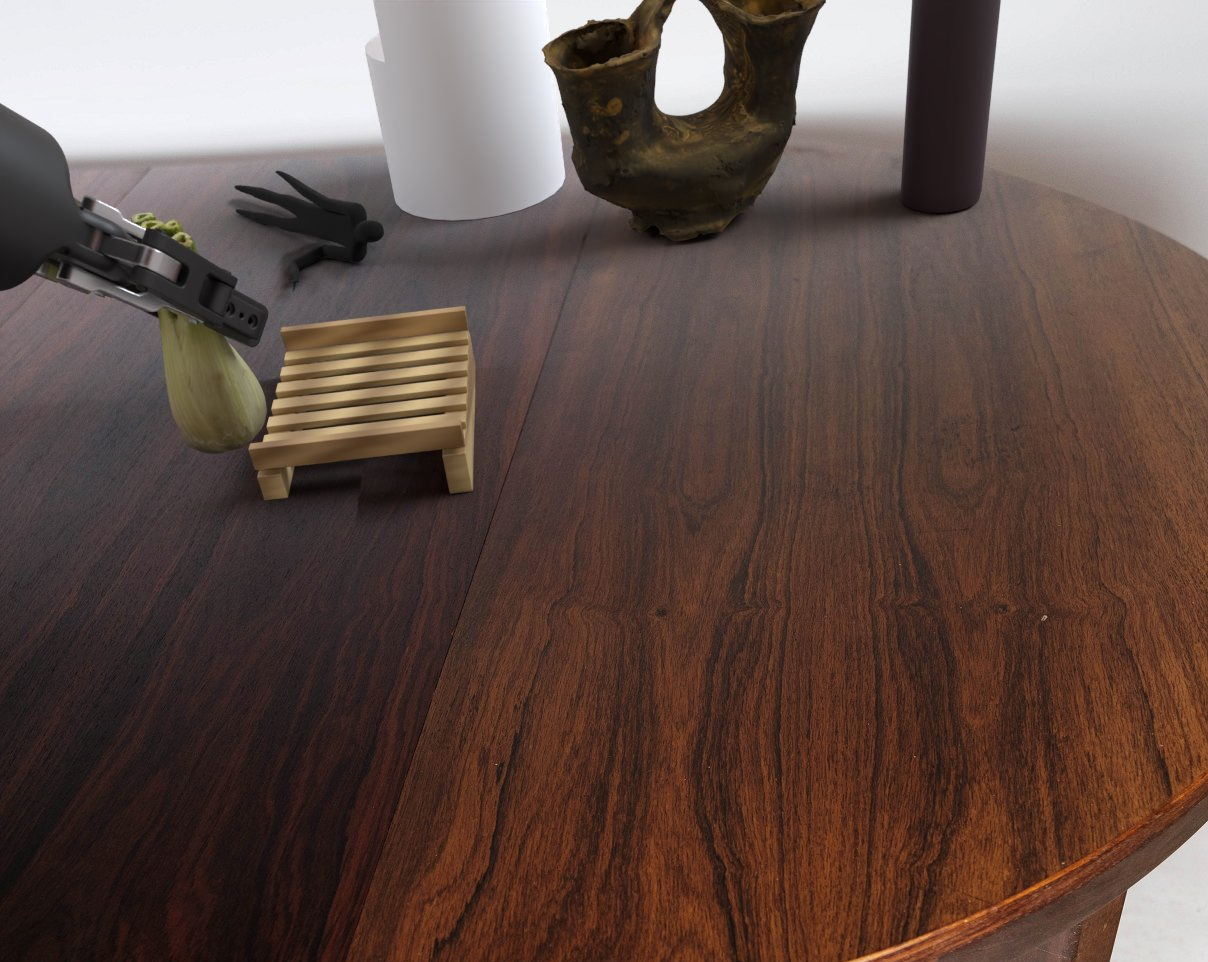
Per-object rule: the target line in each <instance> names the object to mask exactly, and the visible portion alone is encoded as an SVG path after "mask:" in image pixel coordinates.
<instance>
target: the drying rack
mask: <svg viewBox="0 0 1208 962" xmlns="http://www.w3.org/2000/svg"><path fill="white" fill-rule="evenodd" d="M280 336H281V339H282V342H283V346H284V349H285V351H286V352H285V354H284V358H283V363H284V366H282V367H281V370H280V372H279V373H280V374H279V378H280V381H281V382H277V385H276V389H275V396H276V399H273V401H272V405H271V409H270V410H271V414H272V416H268V420H267V423H266V430H267V433H268V434H264V435H263V439H262V441H260V442H252V443H251V442H250V443H249V446H248V453H249V456H250V460H251V462H252V465H253V468H254V471H258V473H257V477H256V478H257V481H258V485H259V487H260V491H261V493H262V497H263V500H264V501H270V500H279V499H280V500H281V499H288V498H289V494H290V489H291V486H292V480H293V477H294V471H295V467H300V466H308V465H316V464H317V465H318V464H326V463H334V462H335V463H336V462H343V461H351V460H361V459H371V458H378V457H386V456H395V455H404V454H405V455H406V454H411V453H412V454H413V453H421V452H430V451H438V450H442V453H441V457H442V462H443V463H442V464H443V467H444V472H445V476H446V483H447V487H448V491H449V494H451V495H452V494H459V493H469V492H473V491H474V464H475V463H474V462H475V461H474V458H475V422H476V421H475V419H476V418H475V415H476V414H475V413H476V412H475V411H476V372H477V371H476V369H477V367H476V361H475V356H474V355H475V354H474V349H473V344H472V338H471V333H470V331H469V320H468V315H467V309H466V306H465V305H459V306H453V307H445V308H444V307H443V308H435V309H428V310H427V309H426V310H419V311H409V312H401V313H393V314H384V315H383V314H382V315H375V316H367V317H358V318H350V319H340V320H333V321H324V322H316V323H306V324H298V325H289V326H282V327H281V329H280ZM434 414H435V415H434ZM425 415H426V416H425ZM406 417H408V418H406ZM389 419H390V420H389ZM380 420H381V421H380ZM364 422H365V423H364ZM321 427H322V428H321Z"/></svg>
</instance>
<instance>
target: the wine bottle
mask: <svg viewBox="0 0 1208 962" xmlns="http://www.w3.org/2000/svg"><path fill="white" fill-rule="evenodd" d="M1001 2H1002V0H911V11H910V12H911V13H910V28H909V44H908V45H909V46H908V63H907V78H906V97H905V111H904V112H905V113H904V128H903V129H904V130H903V146H902V148H903V149H902V161H901V162H902V163H901V179H900V196H901V201H902V203H903V204H904V205H905V206H906V207H908V208H910V209H913V210H916V211H919V212H924V213H931V214H933V213H935V214H942V213H943V214H944V213H945V214H946V213H952V212H958V211H961V210H965V209H968V208H971V207H972V206H974V205H976V203H978V201H979V200H980V197H981V194H982V189H983V183H984V182H983V181H984V180H983V179H984V173H985V172H984V171H985V160H986V149H987V141H988V131H989V120H990V113H991V112H990V111H991V103H992V90H993V81H994V72H995V71H994V70H995V64H996V63H995V61H996V54H997V53H996V52H997V41H998V33H999V32H998V31H999V22H1000V12H1001V4H1002V3H1001Z"/></svg>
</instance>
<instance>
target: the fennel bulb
mask: <svg viewBox="0 0 1208 962" xmlns="http://www.w3.org/2000/svg"><path fill="white" fill-rule="evenodd" d="M130 221H131V222H133V223H135V224H137V225H139V226H141V227H143V228H145V229H146V228H151V229H154V230H155V228H158V229H161V230H163V231H165V232H166V233H167V234H166V235H168V236H169V237H171V238H173V239H174V240H176V241H178V242H179V243H181V244H183V245H184V246H186V247H187V248H189V249H191V250H192V251H194V252H196V253H197V254H199V252H198V250H197V247H196V244H195V240H194V239H193V238H192V237H191V235H189V234H187V233H186V232H184V229H183V226H182V224H181V223H180V221H178V220H177V219H174V218H173V219H170V220H169V221H167V222H166V223H164V222H163V221H162V220H160V219H159V220H157V218H156V216H155V214H154V213H153V212H139V213H137V214H136V213H135V214H133V215H132V216H131V217H130ZM136 242H137V243H138V244H141V242H139V241H137V240H136ZM157 312H158V317H159V319H158V325H159V326H158V327H159V331H160V338H161V346H162V347H161V349H162V350H161V351H162V358H163V368H164V377H165V384H166V391H167V396H168V402H169V406H170V410H171V413H172V416H173V419H174V421H175V424H176V425H177V427H178V429H179V431H180V434H181V438H182V440H183V441H184V443H185V444H186V445H187V446H189V447H190V448H192V450H193V449H194V450H196V451H198V452H200V453H204V454H207V455H210V454H211V455H212V454H214V455H215V454H219V455H220V454H224V453H226V452H231V451H235V450H239V449H241V448H243V447H245V446H247V445H248V444H250V443H251V442H253V440H254V439H255V438H256V437H257V435H258V434H259V433H260V432H261V431H262V428H263V427H264V426H265V423H266V419H267V412H268V407H267V401H266V396H265V393H264V391H263V388H262V386H261V384H260V382H259V380H258V379H257V377H256V375H255V374H254V373H253V371H252V370H251V368H250V366H249V365H248V364H247V363H246V362H245V360H244V358H242V356H241V355H240V354H239V353H238V352H237V350H236V349H235V348H234V347H233V346H232V345H231V344H230V342H229V341H228V340H227V337H226V336H224V335H222V334H220V333H218V332H216V331H214V330H212V329H210V328H208V327H206V326H204V325H201V324H199V323H198V326H197V325H194V324H192V323H190V322H188V319H186V318H184V317H182V316H180V315H177V314H175V313H173V312H171V311H168V310H166V309H164V308H161V309H160V310H158V311H157Z"/></svg>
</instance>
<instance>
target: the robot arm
mask: <svg viewBox="0 0 1208 962" xmlns="http://www.w3.org/2000/svg"><path fill="white" fill-rule="evenodd" d="M166 234H167V233H166V232H165V231H163V230H161V229H158V228H155V230H154V229H151V228H146V229H145V228H143V227H141V226H139V225H137V224H135V223H133V222H131V220H128V219H126V218H125V217H124V216H123V214H122V212H121V211H120V210H119V209H118V208H117V207H114V206H112V205H110V204H108V203H106V202H104V201H102V200H100V199H97V198H96V197H93V196H90V195H86V194H82V195H81V199H80V200H79V199H77V198H76V197H74V193H73V189H72V184H71V173H70V168H69V163H68V160H67V158H66V153H65V152H64V150H63V149H62V146H61V145H60V143H59V142H58V141H57V139H56V138H55V136H53V134H51V133H50V132H49V131H47V130H46V129H45V128H43V127H41V126H40V125H38V124H37V123H35V122H33V121H31V120H30V119H28V118H26V117H25V116H23V115H21V114H20V113H18V112H16V111H14V110H13V109H11V108H9V107H8V106H6V105H4V104H2V103H1V102H0V292H5V291H8V290H12V289H14V288H17V287H18V286H20V285H22V284H23V283H25V282H27V281H28V280H29V279H30V278H31V277H33V276H36V277H39V278H42V279H45V280H47V281H50V282H53V283H56V284H60V285H62V286H64V287H66V288H69V289H72V290H74V291H77V292H80V293H82V294H85V295H90V294H91V293H93V292H94V295H96V296H98V297H100V298H103V299H105V298H106V297H107V298H111V299H114V300H116V301H118V302H121V303H123V304H126V305H128V306H131V307H133V308H135V309H137V310H139V311H142V312H144V313H146V314H147V315H150V316H152V317H154V318H156V319H158V320H159V317H158V312H157V311H158V310H160V309H161V308H164V309H166V310H168V311H171V312H173V313H175V314H177V315H180V316H182V317H184V318H186V319H188V322H190V323H192V324H194V325H197V326H198V323H199V324H201V325H204V326H206V327H208V328H210V329H212V330H214V331H216V332H218V333H220V334H222V335H224V336H225V338H228V339H230V340H232V341H234V342H236V343H238V344H240V345H243V346H246V347H249V348H256V347H257V346H258V345H259V344H260V342H261V340H262V336H263V333H264V330H265V328H266V324H267V321H268V318H269V309H268V307H267V306H266V305H264V304H263V303H261V302H259V301H257V300H256V299H254V298H252V297H249V296H248V295H246V294H244V293H242V291H239V290H237V289H236V286H237V283H238V281H239V278H237V277H236V276H235V275H233V274H232V272H231V271H229V270H227V269H225V268H221V267H220V266H218V265H216V264H215V263H213V262H212V261H210V260H208V259H207V258H205V256H202V255H200V254H199V253H198V252H197V253H198V254H197V253H196V252H194V251H192V250H191V249H189V248H187V247H186V246H184V245H183V244H181V243H179V242H178V241H176V240H174V239H173V238H171V237H169V236H168V235H166ZM137 241H139V242H141V244H138V243H137Z"/></svg>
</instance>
